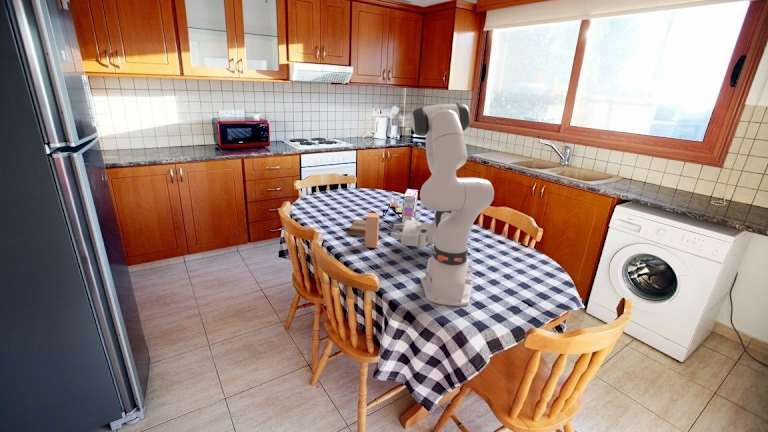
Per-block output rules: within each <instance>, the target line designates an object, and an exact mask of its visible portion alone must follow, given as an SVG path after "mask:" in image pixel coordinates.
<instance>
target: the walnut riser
mask: <svg viewBox="0 0 768 432" xmlns="http://www.w3.org/2000/svg"><path fill="white" fill-rule="evenodd" d="M348 231H349V233H348V235H349V236H359V237H365V232H366V220H357V219H354V221H353V222H352V224H351V225H350V227H349V230H348Z"/></svg>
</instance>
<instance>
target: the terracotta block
mask: <svg viewBox="0 0 768 432" xmlns="http://www.w3.org/2000/svg"><path fill="white" fill-rule="evenodd" d="M365 221H366V232H365V236H364V238H365V239H364V248H372V249H377V247H378V245H379V230H380V213H375V212H374V213H373V212H368V213H367V214H366V216H365Z"/></svg>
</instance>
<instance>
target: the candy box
mask: <svg viewBox="0 0 768 432" xmlns="http://www.w3.org/2000/svg"><path fill="white" fill-rule="evenodd" d="M418 192H419V190H418V189H410V188H406V191H405V193H404V194H403V200H402V212H401V223H400V224H404V223H405V221H406V220H409V218H410V217H413V218H415V219H416V218H417V208H418ZM416 220H417V219H416Z"/></svg>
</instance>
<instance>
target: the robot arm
mask: <svg viewBox="0 0 768 432" xmlns="http://www.w3.org/2000/svg"><path fill="white" fill-rule="evenodd" d="M470 113H471V112H470V110H469V107H468V106H467V105H466V103H461V102H460V103H459V102H456V103H446V104H445V103H444V104H433V105H428V106H423V107H421V106H420V107H418V108H416V109H414V110H413V112H411V117H410V126H411V128H412V131H413V133H414V135H416V136H420V137H425V154H426V161H427V165H428V169H429V171H430V173H431V175H430V177H429V178H428V179H427V180H426V181H425V182H424V183H423V184H422V185H421V189H420V193H419V198H420V202H421V204H422V205H423V207H424V208H425V209H426V210H430V211H433V214H434V215H433V216H434V222H435V223H427V222H421V221H416V220H415V221H411V220H406V221H405V223H404V224H401V223H394V224H393V227H392V228H393V229H394V230H398V229H401V230H402V233H401V232H400V233H397V232H396V231H391V233H390V237H391V238H395V239H397V240H400V244H402V245H403V246H408V247H409V246H411V247H418V248H420V249H422V248H425V247H426V246H427V245H431V246H432V245H433V249H432V251H433V252H432V256H430V257H429V258H428V260H427V266H426V273H425V275H421V277H420V282H421V285H422V289H423V292H424V295H425V296H424V297H425V298H426V300H427V301H429V302H431V303H435V304H439V305H444V306H453V307H462V306H463V307H464V306H467V305H469V304H470V299H471V297H472V296H471V295H472V291H473V286H474V282H473V281H472V278H470V277H469V275H471V271H472V270H471V269H470V265H471V263H470V262H469V261H468V254H469V250H468V249H469V248H468V243H469V238H470V233H471V229H472V227H473V224H474V222H475V221H476V219H477V218H478V216H479V215H480V214H481V213H482V212H483V211H484V210H485V209H486V208H488V207H489V206H490V205H491V204H492V202H493V200H494V198H495V190H494V186H493V184H492V183H491V181H489V180H488V179H485V178H482V177H481V178H480V177H471V176H470V177H457V170H458V169H461V168H462V166H464V165H465V164H466V163H467V160H468V151H467V145H466V139H465V136H464V135H465V134H464V131H466V130H467V129H468V127H469V126H470V122H471V114H470Z"/></svg>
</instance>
